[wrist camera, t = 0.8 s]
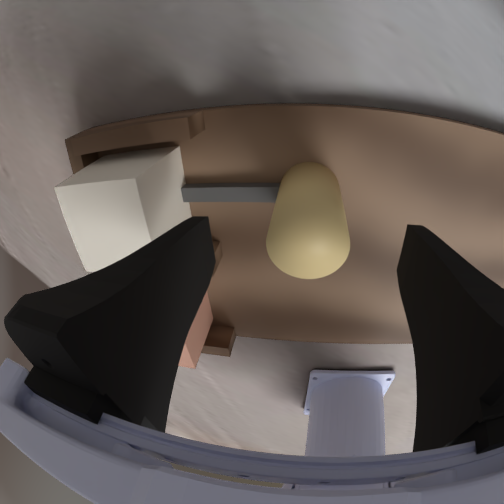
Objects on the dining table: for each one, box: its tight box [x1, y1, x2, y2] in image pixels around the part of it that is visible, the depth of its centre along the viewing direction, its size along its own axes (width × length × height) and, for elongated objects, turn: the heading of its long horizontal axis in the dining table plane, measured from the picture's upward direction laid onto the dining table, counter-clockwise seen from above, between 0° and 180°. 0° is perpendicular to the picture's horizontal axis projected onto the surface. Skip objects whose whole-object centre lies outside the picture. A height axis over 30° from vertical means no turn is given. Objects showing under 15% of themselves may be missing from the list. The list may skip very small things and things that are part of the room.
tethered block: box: [54, 146, 350, 279], centre depth 13 cm, size 5×13×5 cm, turn 94°
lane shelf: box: [65, 103, 504, 357], centre depth 16 cm, size 16×28×3 cm, turn 94°
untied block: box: [178, 291, 213, 369], centre depth 19 cm, size 5×5×4 cm
